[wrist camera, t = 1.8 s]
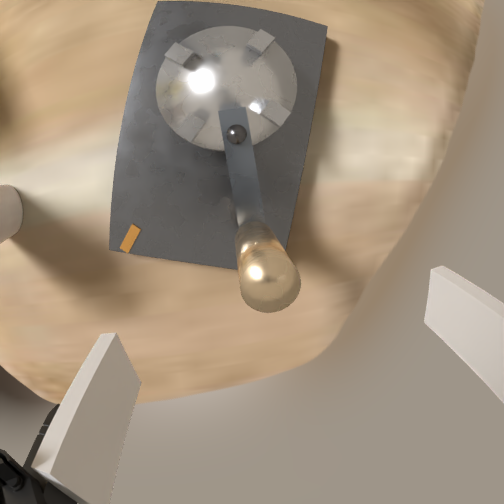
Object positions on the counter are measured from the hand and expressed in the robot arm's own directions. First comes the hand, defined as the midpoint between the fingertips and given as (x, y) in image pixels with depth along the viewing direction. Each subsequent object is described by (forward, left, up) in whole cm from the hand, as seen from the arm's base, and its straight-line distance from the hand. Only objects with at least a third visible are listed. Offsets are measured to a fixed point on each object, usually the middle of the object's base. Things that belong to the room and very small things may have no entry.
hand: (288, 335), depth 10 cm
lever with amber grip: (-8, -3, -16) cm, 18 cm away
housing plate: (-9, -5, -18) cm, 21 cm away
